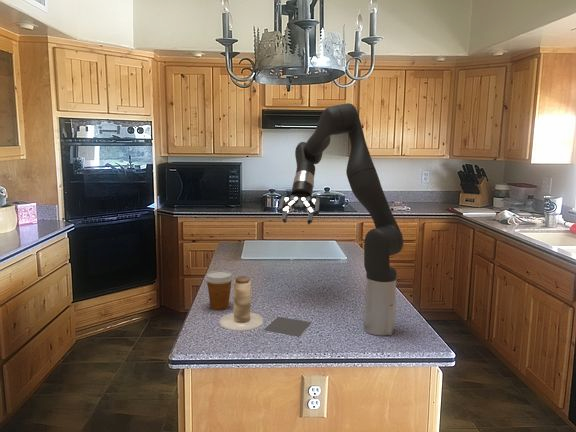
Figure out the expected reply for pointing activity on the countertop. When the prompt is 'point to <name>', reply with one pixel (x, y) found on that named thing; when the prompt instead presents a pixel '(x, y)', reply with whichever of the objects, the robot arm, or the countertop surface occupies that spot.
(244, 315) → the pepper mill
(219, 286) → the disposable coffee cup
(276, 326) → the mat
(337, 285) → the countertop surface
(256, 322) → the plate
